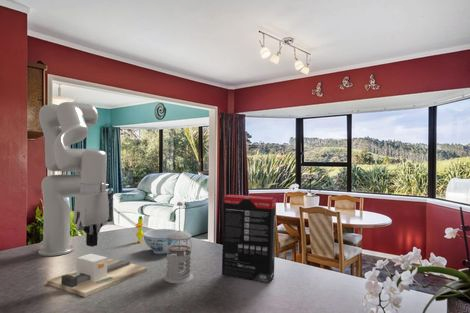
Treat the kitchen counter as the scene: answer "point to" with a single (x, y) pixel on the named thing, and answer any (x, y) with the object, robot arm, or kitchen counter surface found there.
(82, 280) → the din panel
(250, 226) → the graphics card box
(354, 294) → the kitchen counter surface
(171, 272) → the french press
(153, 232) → the chinaware
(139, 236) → the toy figure
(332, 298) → the kitchen counter surface
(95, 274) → the block
